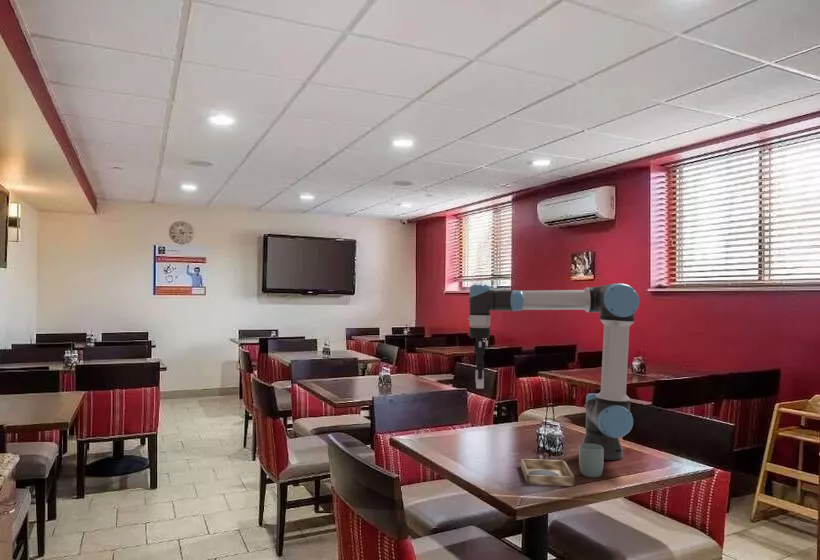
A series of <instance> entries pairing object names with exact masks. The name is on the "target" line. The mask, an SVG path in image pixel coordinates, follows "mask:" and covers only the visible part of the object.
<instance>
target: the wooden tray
mask: <svg viewBox="0 0 820 560" xmlns="http://www.w3.org/2000/svg"><path fill="white" fill-rule="evenodd" d="M520 468H521V470H522V471H521V472H522V474H523V477H524V479H525V482H526V484H527V485H544V486H545V485H547V486H548V485H549V486H567V487H575V486H576V477H575V475H574V473H573V472H572V470H571V469H570V467H569V465H568V464H567V462H566V461H565V460H563V459H540V458H539V459H537V458H520ZM533 470H547V471H552V472H555V473H557V474H558V475H559V476H548V475H529V473H528V472H530V471H533Z"/></svg>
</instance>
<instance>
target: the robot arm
mask: <svg viewBox="0 0 820 560" xmlns="http://www.w3.org/2000/svg"><path fill="white" fill-rule="evenodd" d="M468 299H469V317H467V320H468V321H469V326H470V327H469V329H468V330H469V338H472V339H475V342H474V343H473V344H474V345H473V347H474V354H475V361H474V362H475V366H474V371H475V387H476V388H475V389H484V388H485V361H484V360H485V359H484V358H485V354H486V353H485V349H486V342H484V339H489V338H491V328H490V326H491V311H494V312H496V311H497V312H498V311H499V312H521V311H549V310H550V311H560V310H561V311H566V310H567V311H571V310H572V311H577V310H578V311H580V310H583V311H585V312H586V313H597V314H599V320H600V322H601V323H602V324H603V339H602V341H603V342H602V357H601V358H602V360H601V378H600V379H601V380H600V381H601V382H600V391H599V392H598V393H587V394H586V397H585V433H584V434H585V435H584V437H583V439H582V440H583V441H582V443H581V444H585V443H590V444H597V445H601V446H602V447H603V449H604V460H605V461H613V460H614V461H616V460H620V459H622V458H623V457H624V450H623V447H622V444H621V440H620V438H622V437H623V438H624V437H625V436H626V435H628V434H629V433H630V432H631V430H632V429H633V426H634V417H633V414H632V413H631V398H630V397H629V396H628V395H627V381H628V362H629V361H628V360H629V346H630V344H629V341H630V340H629V339H630V327H631V326H632V325H633V324H634V323H635V317H636V316H635V315H636V314H635V313H636V312H637V310H638V309H639V306H640V297H639V294H638V292H637V291H636V289H634V288H633V287H632V286H631V285H629V284H626V283H622V282H621V283H620V282H618V283H610V284H609V283H608V284H604V285H600V286H592V287H591V286H590V287H589V286H587V287H585V288H584V289H561V290H560V289H553V290H551V289H549V290H547V289H545V290H541V289H539V290H516V289H513V290H512V289H511V290H509V289H508V290H507V289H506V290H504V289H503V290H502V289H501V290H496V289H492V288H491V286H490V284H472V285H470V287H469V298H468Z"/></svg>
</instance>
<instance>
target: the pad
mask: <svg viewBox="0 0 820 560" xmlns="http://www.w3.org/2000/svg"><path fill="white" fill-rule="evenodd" d="M528 473H529V475H548V476H559V475H558V474H557V473H555V472H552V471H547V470H533V471H530V472H528Z"/></svg>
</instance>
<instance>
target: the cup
mask: <svg viewBox="0 0 820 560" xmlns="http://www.w3.org/2000/svg"><path fill="white" fill-rule="evenodd" d="M578 464H579V466H578V467H579V471H580V473H581V474H582V475H583V476H584V477H586V478H600V477H601V475H602V474H603V471H604V449H603V447H602V446H601V445H597V444H590V443H585V444H582V443H580V444H579V445H578Z"/></svg>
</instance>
